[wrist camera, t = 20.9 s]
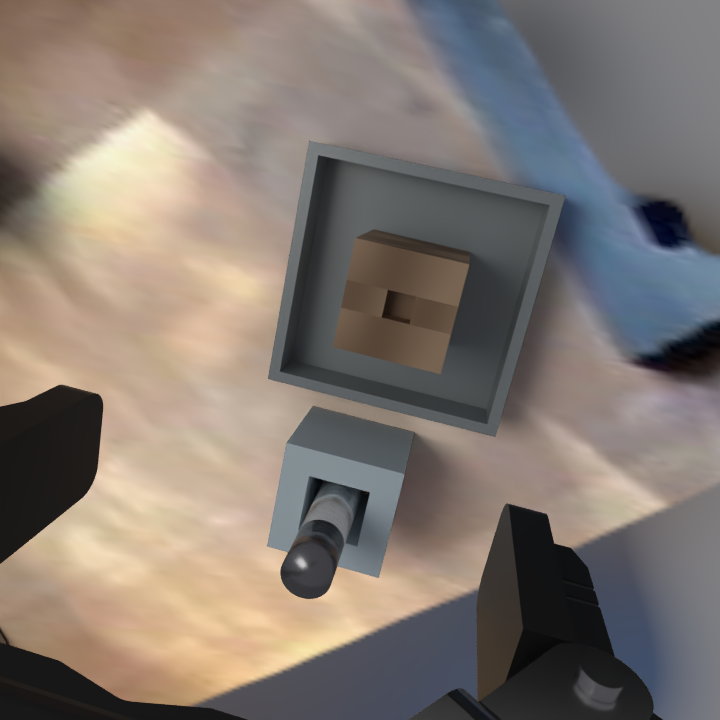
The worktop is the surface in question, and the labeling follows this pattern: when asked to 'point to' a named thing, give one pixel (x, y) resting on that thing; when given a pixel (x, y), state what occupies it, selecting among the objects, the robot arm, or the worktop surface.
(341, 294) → the tray
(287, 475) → the grey socket cube
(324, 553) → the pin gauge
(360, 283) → the walnut block
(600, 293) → the worktop surface
